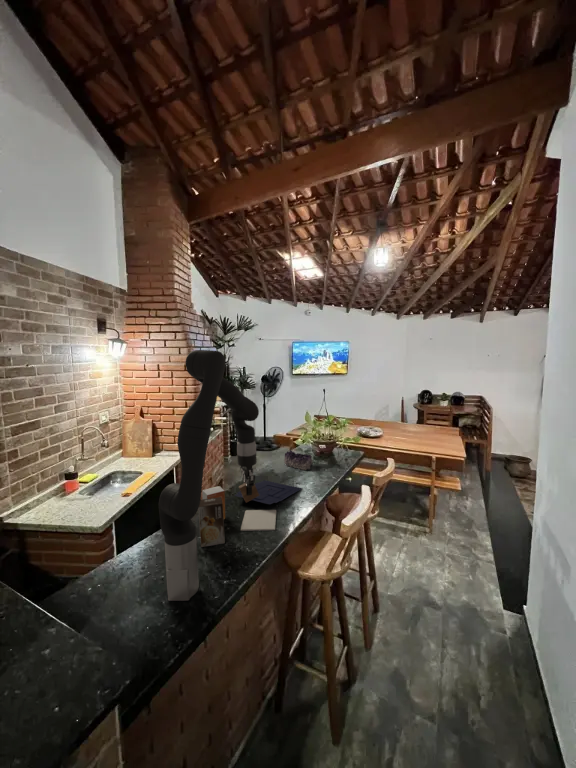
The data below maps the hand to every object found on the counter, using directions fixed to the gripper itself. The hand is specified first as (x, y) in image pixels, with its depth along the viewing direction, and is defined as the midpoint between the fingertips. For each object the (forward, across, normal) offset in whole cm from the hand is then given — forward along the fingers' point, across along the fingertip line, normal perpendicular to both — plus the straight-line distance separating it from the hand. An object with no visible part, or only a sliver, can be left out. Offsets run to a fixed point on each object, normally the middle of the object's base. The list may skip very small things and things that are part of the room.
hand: (248, 493), depth 132 cm
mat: (+16, +6, -6) cm, 18 cm away
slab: (+2, 0, -1) cm, 3 cm away
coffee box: (+16, -1, +16) cm, 22 cm away
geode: (+18, +59, -49) cm, 78 cm away
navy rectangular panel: (+17, +28, -18) cm, 37 cm away
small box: (+16, +16, +12) cm, 25 cm away
